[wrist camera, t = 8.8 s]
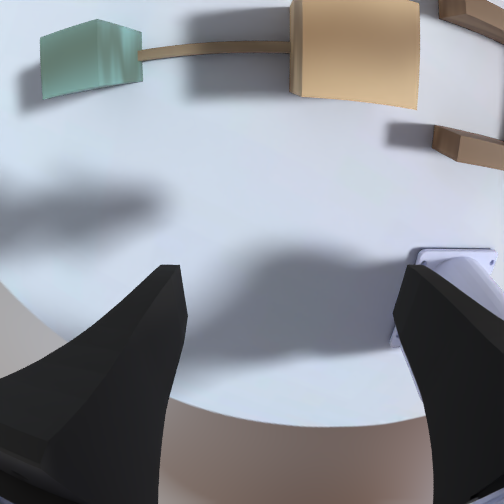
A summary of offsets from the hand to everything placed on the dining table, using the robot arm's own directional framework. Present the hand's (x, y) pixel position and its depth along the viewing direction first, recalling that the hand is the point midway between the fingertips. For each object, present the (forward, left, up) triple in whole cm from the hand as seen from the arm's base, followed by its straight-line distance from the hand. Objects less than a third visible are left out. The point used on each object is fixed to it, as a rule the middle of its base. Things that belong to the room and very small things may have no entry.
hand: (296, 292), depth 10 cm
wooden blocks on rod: (+8, +2, -10) cm, 13 cm away
